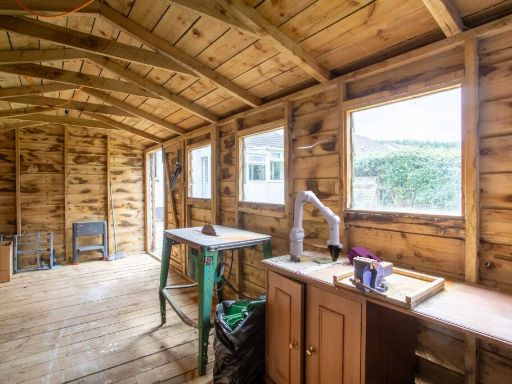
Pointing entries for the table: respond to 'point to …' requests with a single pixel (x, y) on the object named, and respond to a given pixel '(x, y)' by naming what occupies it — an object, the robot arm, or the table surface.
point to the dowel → (333, 256)
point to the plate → (305, 258)
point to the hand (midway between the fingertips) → (334, 257)
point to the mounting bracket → (361, 254)
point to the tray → (323, 260)
